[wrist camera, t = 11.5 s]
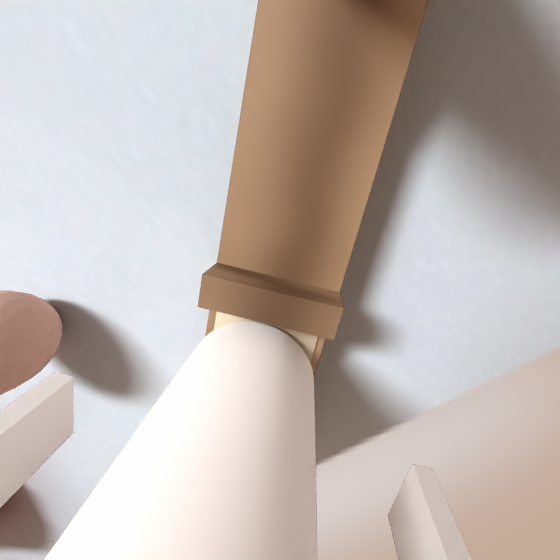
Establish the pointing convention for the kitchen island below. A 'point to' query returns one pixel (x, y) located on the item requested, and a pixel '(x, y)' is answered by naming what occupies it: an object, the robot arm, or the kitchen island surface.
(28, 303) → the egg
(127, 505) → the can
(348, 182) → the rail
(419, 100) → the kitchen island surface
